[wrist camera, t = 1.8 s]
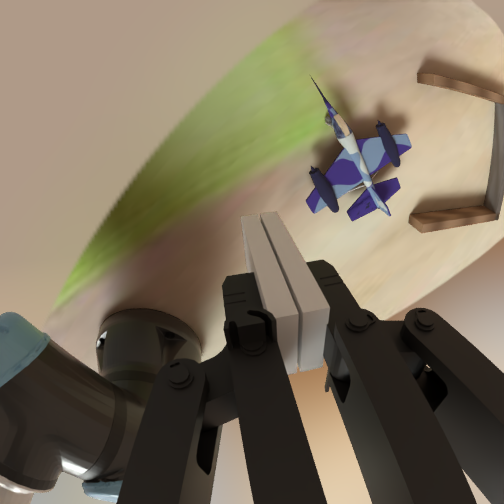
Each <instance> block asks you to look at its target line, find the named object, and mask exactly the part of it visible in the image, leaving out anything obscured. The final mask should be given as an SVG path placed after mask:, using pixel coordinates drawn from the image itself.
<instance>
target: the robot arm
mask: <svg viewBox="0 0 504 504" xmlns="http://www.w3.org/2000/svg"><path fill="white" fill-rule="evenodd" d="M260 218H261V221H260V219H259V217H258V214H254V215H247V216H241V224H242V232H243V241H244V249H245V258H246V266H247V271H248V273H244V274H238V275H232V276H227V277H226V279H225V281H224V283H223V285H222V290H223V299H224V308H225V316H226V321H225V323H224V333H225V338H226V342H227V344H226V346H225V347H224V349H223V350H222V351H221V352H220V353H219V354H218V355H216V356H215V357H213V358H211V359H209V360H206V361H204V362H201V345H200V342H199V339H198V337H197V336H196V334H195V333H194V332H193V330H192V329H191V328H190V327H189V326H187V325H186V324H185V323H183V322H182V321H180V320H179V319H177V318H175V317H173V316H171V315H168V314H166V313H163V312H159V311H155V310H149V309H129V310H124V311H120V312H118V313H115V314H113V315H112V316H110V317H109V318H107V319H106V320H105V321H104V323H103V324H102V326H101V328H100V331H99V334H98V337H97V341H96V353H97V362H98V370H99V374H98V373H96V372H95V371H93V370H92V369H91V368H89V367H88V366H86V365H85V364H83V363H82V362H81V361H79V360H78V359H76V358H75V357H74V356H72V355H71V354H70V353H68V352H67V351H66V350H64V349H63V348H62V347H60V346H59V345H58V344H57V343H55V342H54V341H53V340H51V339H50V336H48V335H47V334H46V333H44V332H41V331H40V330H38V329H37V328H36V327H34V326H33V325H32V324H31V323H29V322H28V321H27V320H26V319H25V318H23V317H22V316H21V315H19V314H17V313H14V312H6V313H3V314H2V315H0V504H30V502H31V500H32V497H33V495H34V493H38V492H39V493H43V492H49V491H51V490H52V489H53V488H54V486H55V484H56V481H57V479H58V477H59V475H60V473H61V472H65V473H68V474H70V475H73V476H75V477H77V478H80V479H82V480H84V482H83V483H82V487H83V489H84V493H85V494H86V495H87V496H89V497H92V498H95V499H99V500H103V501H108V502H115V503H116V504H210V501H211V495H212V488H213V482H214V476H215V470H216V462H217V457H218V451H219V445H220V438H221V432H222V425H223V424H224V423H227V422H229V421H231V420H233V419H235V418H239V424H240V430H241V436H242V441H243V448H244V453H245V459H246V464H247V470H248V475H249V481H250V486H251V491H252V495H253V501H254V504H327V501H326V498H325V495H324V492H323V488H322V485H321V482H320V479H319V475H318V472H317V469H316V466H315V462H314V459H313V456H312V453H311V450H310V446H309V443H308V440H307V436H306V433H305V430H304V427H303V423H302V420H301V417H300V413H299V410H298V407H297V404H296V400H295V398H294V394H293V391H292V388H291V384H290V381H289V378H288V375H289V374H294V373H297V363H298V366H299V369H300V372H303V371H308V370H311V369H316V368H320V367H322V366H323V359H325V361H326V363H327V366H328V372H327V378H326V383H325V392H328V391H329V387H331V390H332V393H333V395H334V398H335V400H336V403H337V406H338V409H339V411H340V414H341V417H342V419H343V422H344V425H345V428H346V430H347V433H348V436H349V438H350V441H351V444H352V447H353V450H354V452H355V455H356V458H357V460H358V463H359V466H360V469H361V472H362V475H363V478H364V481H365V483H366V486H367V489H368V492H369V495H370V498H371V501H372V504H477V503H476V500H475V498H474V495H473V493H472V491H471V488H470V486H469V484H468V482H467V479H466V477H465V475H464V473H463V470H464V472H465V473H466V474H467V475H468V476H469V477H470V479H471V480H472V481H473V482H474V483H475V485H476V486H477V487H478V488H479V489H480V491H481V492H482V493H483V494H484V496H485V497H486V498H487V499H488V500H489V501H490V503H491V504H504V373H502V371H501V370H499V369H498V368H497V367H496V366H495V365H494V364H493V363H492V362H491V361H490V360H489V359H488V358H487V357H486V356H484V354H482V353H481V352H480V351H479V350H478V349H477V348H476V347H475V346H474V345H473V344H471V343H470V342H469V341H468V340H467V339H466V338H465V337H464V336H462V335H461V334H460V333H459V332H458V331H457V330H456V329H454V328H453V327H452V326H451V325H450V324H449V323H447V322H446V321H445V320H444V319H443V318H441V317H440V316H439V315H438V314H436V313H435V312H433V311H432V310H429V309H426V308H415V309H412V310H410V311H409V312H408V313H407V314H406V316H405V319H404V321H384V320H379V319H378V318H377V317H376V316H375V315H374V314H373V313H372V312H370V311H368V310H366V309H361V308H360V307H359V305H358V303H357V302H356V300H355V299H354V297H353V296H352V294H351V293H350V291H349V289H348V288H347V286H346V285H345V283H343V280H342V279H341V277H340V276H339V274H338V273H337V271H336V270H335V268H334V267H333V266H332V265H331V264H329V263H328V262H326V261H325V260H318V261H312V262H305V260H304V258H303V257H302V255H301V253H300V251H299V250H298V248H297V246H296V244H295V242H294V241H293V239H292V237H291V235H290V234H289V232H288V230H287V228H286V227H285V225H284V223H283V221H282V220H281V218H280V216H279V215H278V213H277V211H276V212H268V213H261V214H260ZM426 365H428V366H429V367H430V368H428V367H427V366H426ZM462 469H463V470H462Z"/></svg>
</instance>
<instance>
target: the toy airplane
mask: <svg viewBox="0 0 504 504" xmlns="http://www.w3.org/2000/svg"><path fill="white" fill-rule="evenodd" d="M309 75H310V74H309ZM311 78H312V77H311ZM312 80H313V79H312ZM313 82H314V80H313ZM314 83H315V82H314ZM315 85H316V83H315ZM316 87H317V88H318V86H317V85H316ZM318 90H319V92H320V94H321V95H322V97H323V100H324V102H325V104H326V107H327V109H328V112H329V115H330V117H328V116H326V117H325V121H326V122H325V123H326V124H327V125H329V126H330V127H332V128H333V129H334V131H335V134H336V137H337V139H338V140H339V142H340V143H341V145H342V147H343V149H342V151H341V152H340V154H339V155H338V156H337V158H336V159H335V160H334V162H333V163H332V165H331V166H330V167H329V169H328V170H327V172H326V173H325V174H324V175H323V174H322V173H321V172H320V170H319V169H318V168H313V167H312V166H311V171H310V172H309V174H310V175H311V178H312V180H313V183H314V185H315V188H314V190H313V191H312V192H311V194H310V195H309V197H308V198H307V199H306V203H307V204H308V206H309V208H310V209H311V211H312V212H313V213H317V212H318V211H320V210H321V209H323V208H324V207H326V206H328V207H329V208H330V209H331V211H332V212H334V213H336V212H338V211H339V206H338V202H337V199H338V198H339V197H341V196H342V195H344V194H345V193H347V192H350V191H353V190H355V189H358V188H360V187H363V186H366V188H367V189H366V190H365V191H364V192H363V193H362V194H361V195H360V197H359V198H358V199H357V200H356V201H355V202H354V204H353V205H352V206H351V207H350V208H349V209H348V210H347V213H348V215H349V217H350V219H351V221H354V220H356V219H358V218H360V217H362V216H364V215H366V214H368V213H370V212H372V211H374V210H376V209H377V208H378V209H381V210H382V211H383V212H385V213H386V214H387V215H388V216H391V214H390V211H389V209H388V206H387V205H386V204H385V202H386V201H387V200H388V199H389V198H390V197H391V196H392V195H394V194H395V193H396V192H397V191H398V190H399V189H400V188H401V187H400V184H399V181H398V179H397V177H396V178H393V179H390V180H386V181H383V182H380V183H376V184H373V182H372V179H373V178H374V177H375V175H376V174H377V173H378V170H379V169H381V168H382V167H383V166H385V165H386V164H388V163H389V162H392V164H393V165H394V166H395V167H399V166H400V158H399V156H400V155H401V154H403V153H404V152H406V151H407V150H409V149H410V148H411V147H412V145H411V143H410V140H409V138H408V135H407V134H397V135H391V134H390V132H389V130H388V129H387V127H386V125H385V123H381V122H380V121H379V120H378V124H377V125H376V128H377V131H378V134H379V137H372V138H364V139H357V140H355V137H354V134H353V132H352V130H351V129H350V127H349V126H348V125H347V124H346V123H345V121H344V120H343V119H342V118H341V116H340V115H339V114H338V113H337V112H336V111H335V110H334V108H333V107H332V106H331V105H330V103H329V102H328V101H327V99H326V98H325V97H324V96H323V94H322V92H321V91H320V89H319V88H318ZM332 125H333V126H332ZM372 174H374V175H373V177H372V178H371V177H370V175H372ZM362 182H364V185H361V186H359V187H356V186H357V185H359V184H360V183H362ZM354 187H356V188H354ZM353 188H354V189H353Z"/></svg>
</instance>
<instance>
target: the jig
mask: <svg viewBox="0 0 504 504" xmlns="http://www.w3.org/2000/svg"><path fill="white" fill-rule="evenodd" d="M417 80H418V83H422V84H427V85H432V86H437V87H441V88H446V89H450V90H454V91H458V92H462V93H466V94H469V95H473V96H476V97H480V98H483V99H486V100H489V101H492V102H495V125H494V139H493V150H492V159H491V167H490V174H489V180H488V186H487V192H486V197H485V202H484V206H476V207H468V208H459V209H451V210H443V211H434V212H426V213H418V214H410V216H409V224H411V225H412V226H413V227H414V228H416V229H417V230H418V231H419V232H420V233H426V232H432V231H438V230H443V229H449V228H455V227H460V226H466V225H472V224H477V223H483V222H489V221H494V220H498V218H499V214H500V210H501V205H502V201H503V196H504V96H502V95H500V94H497V93H495V92H492V91H489V90H486V89H483V88H481V87H478V86H475V85H471V84H468V83H465V82H462V81H458V80H455V79H451V78H447V77H444V76H440V75H436V74H425V73H417Z"/></svg>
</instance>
